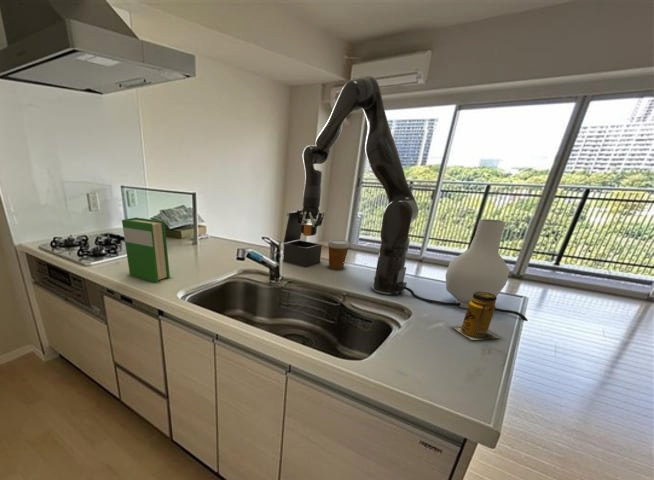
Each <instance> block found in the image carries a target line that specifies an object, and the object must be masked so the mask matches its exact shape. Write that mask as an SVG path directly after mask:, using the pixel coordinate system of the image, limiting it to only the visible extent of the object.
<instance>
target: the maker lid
mask: <svg viewBox="0 0 654 480" xmlns="http://www.w3.org/2000/svg"><path fill="white" fill-rule="evenodd" d="M286 216H287V217H288V218H287V223H286V228H285V233H284V238H283V243H289V242H293V241H297V240H301V237H302V234H303V233H302V232H301V227H302V225H301V224H300V223H298V216H297V211H288V212H286ZM303 216H304V214H303ZM300 219H301V218H300Z"/></svg>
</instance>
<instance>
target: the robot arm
mask: <svg viewBox="0 0 654 480" xmlns="http://www.w3.org/2000/svg"><path fill="white" fill-rule="evenodd" d="M360 110H363V113H364V115H365V118H366V123H367V133H366V137H365V146H364V150H365V156H366V158H367V162H368V164H369V165H368V166H369V167H370V170H371V171H372V173H373V175H374V177H375V178H376V180H377V181H378V182H379V184H380V185H381V186H382V187H383V190H384V191H385V194H386V197H387V200H388V204H387V205H386V207H385V209H384V212H383V215H382V221H381V228H380V246H379V250H378V251H379V252H378V258H377V263H376V267H375V273H374V277H373V285H372V291H373V292H375V293H377V294H380V295H386V296H387V295H389V296H396V295H398V294H399V293H403V291H407V292H409V293H410V294H411V296H412V297H414V298H415V299H418V300H420V301H422V302H423V301H424V302H427V303H432V304H437V305H443V306H456V307H460V303H456V302H448V301H440V300H435V299H430V298H429V299H428V298H424V297H421V296H419V295H417V294H415V293H414V290H413V289H411V288H409V287H407V282H405V276H406V272H407V267H406V266H405V265H406V261H407V255H408V252H409V247H410V242H411V239H410V237H409V236H410V235H409V234H410V229H411V224H412V223H413V222H414V221H415V220H416V219H417V217H418V215H419V205H418V203H417V200H416V199H415V196H414V194H413V192H412V190H411V188H410V186H409V183H408V181H407V178H406V175H405V171H404V168H403V165H402V164H403V163H402V161H401V157H400V153H399V150H398V148H397V144H396V141H395V139H394V136H393V134H392V132H391V127H390V125H389V121H388V118H387V114H386V111H385V106H384V101H383V96H382V92H381V88H380V85H379V82H378V80H377V79H376V78H375V77H374V76H372V75H365V76H360V77H356V78H352V79H350V80H348V81H346V83H345V84H344V85H343V87H342V89H341V91H340V94H339V95H338V97H337V99H336V102H335V105H334V107H333V109H332V111H331V113H330V116H329V118H328V120H327V122H326V123H325V125H324V127H323V128H322V130H321V131H320V132H319V134H318V136H317V137H316V140H315V145H307V146H306V147H305V148H304V150H303V153H302V161H303V166H304V167H303V168H304V175H305V179H304V186H303V188H304V189H303V194H302V195H303V196H302V209H297V210H296V212H297V216H298V223H300V224H301V225H302V227H301V232H302V233H301V234H303V233H304V225H303V224H304V223H308V221H309V220H310V223H312V226H313V227H312V233H311V235H313V236H316V235H317V230H318V227H321V226H322V223H323V220H324V218H325V212H321V211H320V210H319V209H320V207H321V195H322V180H323V179H322V178H323V172H322V171H321V170H319V169H316V168H315V167H314V165H321V164H324V163H326V161H327V160H328V159H329V156H330V153H331V150H332V148H333V146H334V145H335V144H336V142H337V141H338V139H339V138H340V136H341V134H342V131H343V125H344V124H343V123H344V122H345V120H346V118H348V116H349V115H350V114H352V113H353V112H357V111H360ZM303 214H304V216H303ZM300 218H301V219H300ZM494 312H499V313H504V314H505V313H506V314H512V315H516V316H518V317H520V318H521V319H522V321H524V322H529V321H528V318H527V317H526V316H525V315H524V314H523V313H521V312H520V311H519V312H518V311H516V310H511V309H503V308H498V307H495V310H494Z"/></svg>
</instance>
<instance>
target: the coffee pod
mask: <svg viewBox="0 0 654 480" xmlns="http://www.w3.org/2000/svg"><path fill="white" fill-rule="evenodd" d="M303 225H304V233H302V235H303V236H305V237H313V236H314V235H311V233H312V227H313V226H312V222H307V223H304V224H303Z"/></svg>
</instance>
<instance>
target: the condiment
mask: <svg viewBox="0 0 654 480" xmlns="http://www.w3.org/2000/svg"><path fill="white" fill-rule="evenodd" d="M497 299H498V298H497V297H496V296H495V295H493V294H491V293H486V292H475V293H474V294H473V298H472V301H470V302H469V305H468V308H466V312H465V315H464V318H463V322H462V324H461V327H457V328H456V327H454V328H453V329H454V330H456V331H457V332H458V333H460V334H461V335H463V336H464V337H466V338H467V339H469V340H471V341H478V340H480V341H481V340H491V339H492V340H493V339H501V337H500V336H497V335H495V334H493V333H492V332H490V331H488V330H489V328H490V324H491V322H492V319H493V316H494V314H495V311H494V310H495V308H496V302H497Z"/></svg>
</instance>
